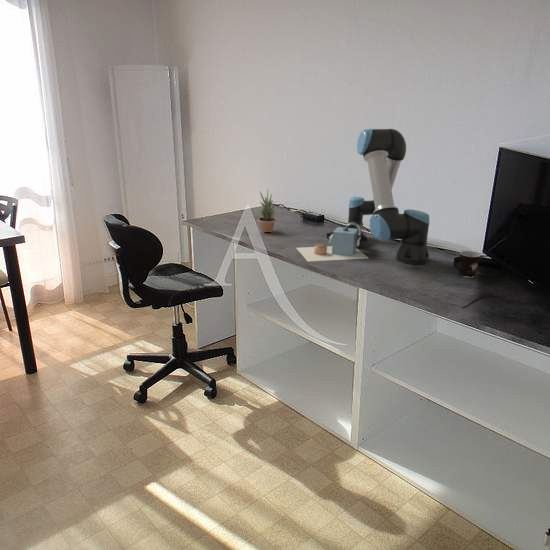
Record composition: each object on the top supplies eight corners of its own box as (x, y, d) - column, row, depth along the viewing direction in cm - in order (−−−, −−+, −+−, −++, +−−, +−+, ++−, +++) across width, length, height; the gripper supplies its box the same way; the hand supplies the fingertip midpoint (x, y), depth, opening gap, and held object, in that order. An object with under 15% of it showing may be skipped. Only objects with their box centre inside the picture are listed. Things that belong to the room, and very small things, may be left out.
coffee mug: (474, 273, 229) (478, 251, 225) (479, 279, 221) (483, 257, 217) (447, 271, 230) (450, 250, 226) (451, 278, 222) (454, 256, 218)
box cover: (356, 250, 257) (357, 226, 253) (352, 256, 248) (354, 231, 244) (336, 248, 260) (337, 224, 256) (331, 253, 251) (333, 229, 247)
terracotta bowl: (328, 254, 249) (328, 247, 248) (316, 255, 248) (316, 248, 247) (324, 251, 255) (325, 244, 254) (312, 251, 254) (313, 244, 252)
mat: (368, 259, 246) (368, 258, 245) (307, 262, 240) (307, 261, 239) (352, 245, 266) (352, 245, 266) (295, 248, 260) (295, 247, 260)
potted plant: (255, 232, 288) (255, 187, 279) (263, 228, 296) (263, 185, 287) (271, 234, 283) (271, 189, 275) (279, 231, 291) (279, 187, 283)
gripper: (375, 240, 266) (369, 252, 247) (327, 235, 273) (317, 246, 254) (376, 226, 263) (370, 236, 244) (328, 221, 270) (318, 231, 251)
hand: (343, 241), depth 249 cm, fingers open, 13 cm apart
